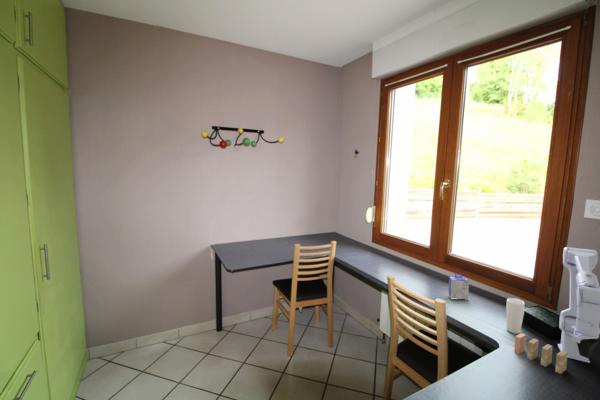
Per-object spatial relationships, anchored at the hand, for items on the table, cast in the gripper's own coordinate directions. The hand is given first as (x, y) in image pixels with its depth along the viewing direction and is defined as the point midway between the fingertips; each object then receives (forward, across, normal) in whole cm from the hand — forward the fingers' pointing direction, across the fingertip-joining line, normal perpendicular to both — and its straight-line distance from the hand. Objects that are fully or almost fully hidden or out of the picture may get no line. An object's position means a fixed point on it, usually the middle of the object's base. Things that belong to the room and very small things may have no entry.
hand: (584, 356), depth 102 cm
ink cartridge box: (+10, -20, -65) cm, 69 cm away
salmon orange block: (+9, +2, -19) cm, 22 cm away
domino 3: (+9, +1, -6) cm, 11 cm away
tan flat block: (+9, +1, -10) cm, 14 cm away
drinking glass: (+10, -12, -30) cm, 33 cm away
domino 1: (+9, +2, -15) cm, 18 cm away
